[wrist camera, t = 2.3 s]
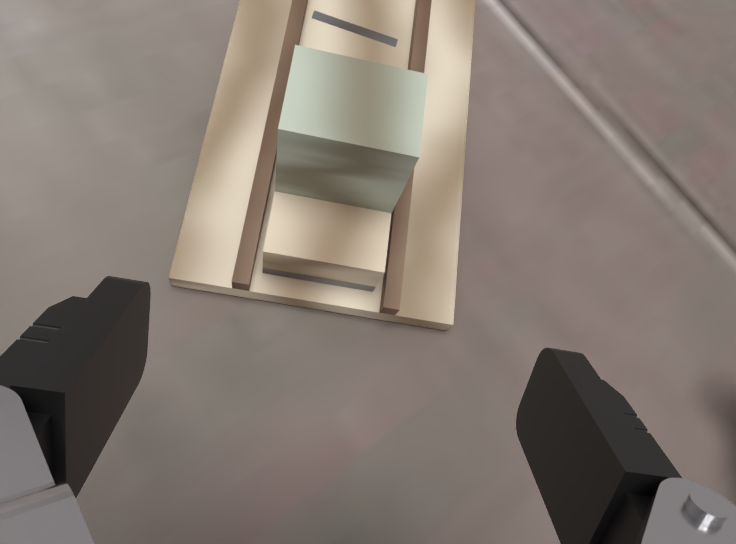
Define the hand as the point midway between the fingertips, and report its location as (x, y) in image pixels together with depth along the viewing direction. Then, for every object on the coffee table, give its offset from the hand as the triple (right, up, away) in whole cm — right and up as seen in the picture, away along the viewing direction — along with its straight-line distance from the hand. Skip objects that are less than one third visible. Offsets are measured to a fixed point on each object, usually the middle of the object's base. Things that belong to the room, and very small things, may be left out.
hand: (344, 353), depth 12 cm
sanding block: (-1, +6, +18) cm, 19 cm away
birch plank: (-1, +11, +22) cm, 25 cm away
